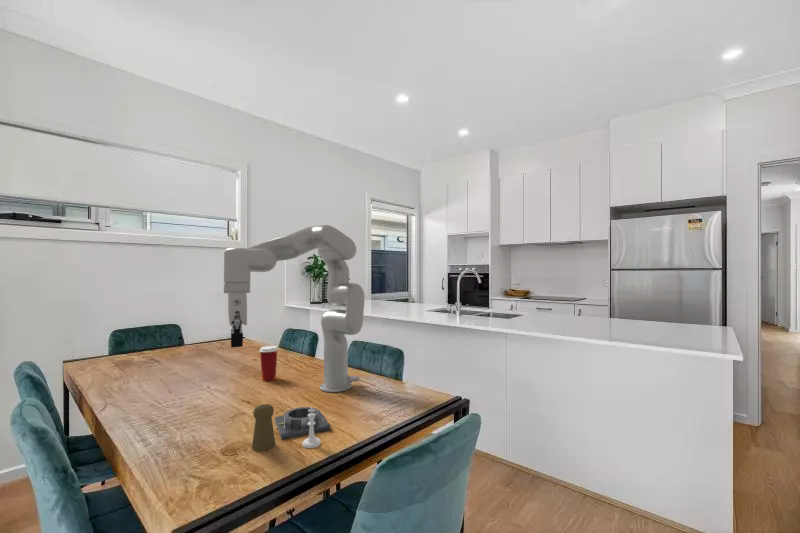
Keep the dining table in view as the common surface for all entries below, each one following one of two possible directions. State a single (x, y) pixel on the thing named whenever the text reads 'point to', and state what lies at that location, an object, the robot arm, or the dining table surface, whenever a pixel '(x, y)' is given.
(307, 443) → the chess piece
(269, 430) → the olive game pawn
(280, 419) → the socket
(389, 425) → the dining table surface
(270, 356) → the paper cup
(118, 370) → the dining table surface
